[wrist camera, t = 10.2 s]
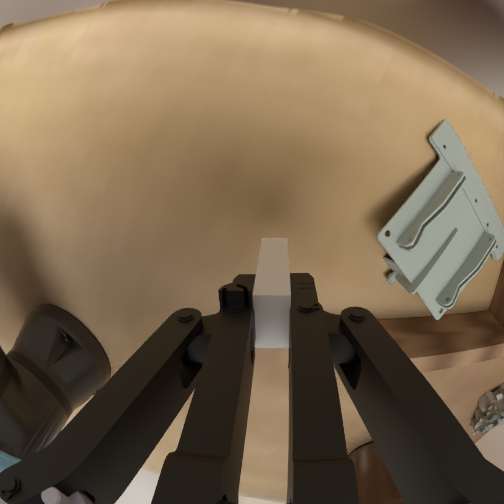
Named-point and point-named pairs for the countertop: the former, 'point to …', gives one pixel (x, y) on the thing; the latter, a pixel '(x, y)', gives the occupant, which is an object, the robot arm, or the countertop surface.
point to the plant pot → (374, 477)
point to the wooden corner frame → (451, 336)
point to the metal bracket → (443, 228)
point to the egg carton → (489, 411)
